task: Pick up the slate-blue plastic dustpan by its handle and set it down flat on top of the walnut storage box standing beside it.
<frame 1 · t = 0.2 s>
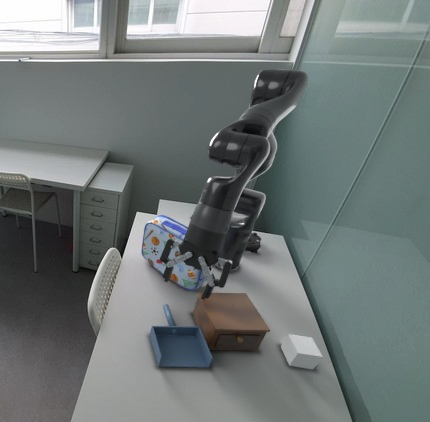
hand: (184, 289, 71), 30 cm above the table, tool tilted 20°, fingers open, 8 cm apart
dustpan: (178, 351, 90), on the table
storage box: (222, 331, 95), on the table
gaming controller: (245, 245, 131), on the table
lunch box: (172, 272, 118), on the table
white cube: (296, 358, 88), on the table
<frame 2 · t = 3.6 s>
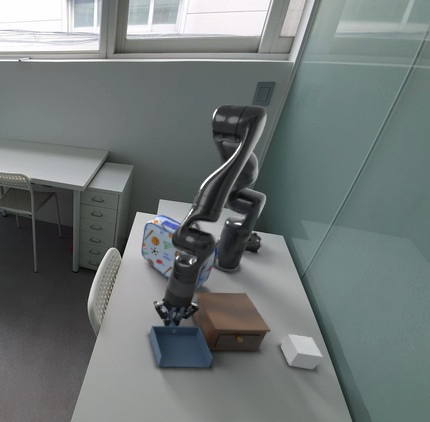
hand: (170, 325, 97), 1 cm above the table, tool pointing down, fingers closed on dustpan, 2 cm apart
dustpan: (178, 351, 90), on the table, touching gripper
everything else where it was.
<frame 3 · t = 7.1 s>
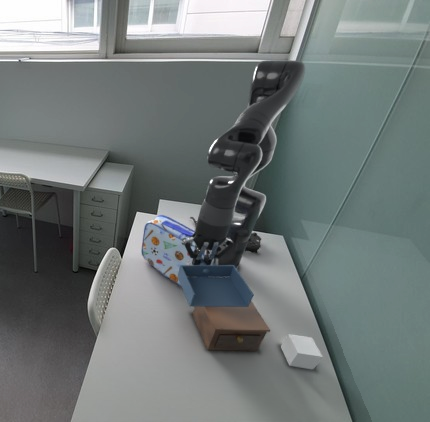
hand: (199, 267, 87), 24 cm above the table, tool pointing down, fingers closed on dustpan
dustpan: (211, 291, 80), point 23 cm above the table, touching gripper
everything else where it was.
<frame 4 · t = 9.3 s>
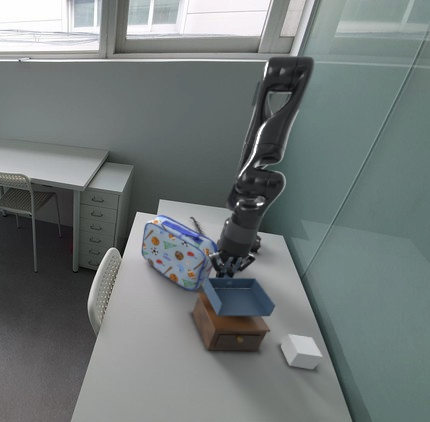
hand: (223, 279, 95), 14 cm above the table, tool pointing down, fingers closed on dustpan
dustpan: (235, 302, 88), point 14 cm above the table, touching gripper
everything else where it was.
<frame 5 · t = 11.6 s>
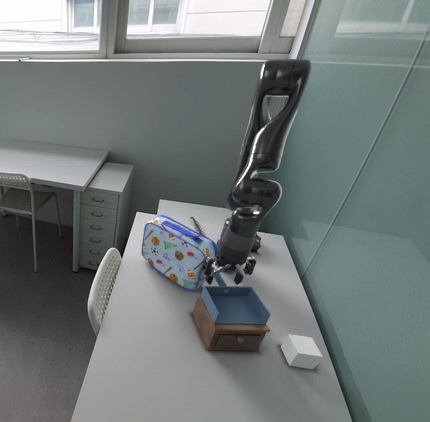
hand: (222, 282, 96), 13 cm above the table, tool pointing down, fingers open, 8 cm apart
dustpan: (231, 310, 90), point 10 cm above the table, touching storage box
everything else where it was.
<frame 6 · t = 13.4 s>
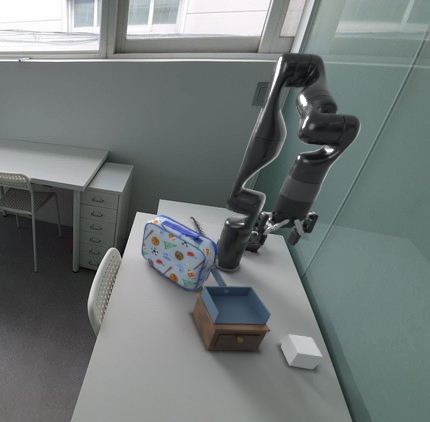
hand: (275, 243, 86), 29 cm above the table, tool pointing down, fingers open, 8 cm apart
nothing on the table moved.
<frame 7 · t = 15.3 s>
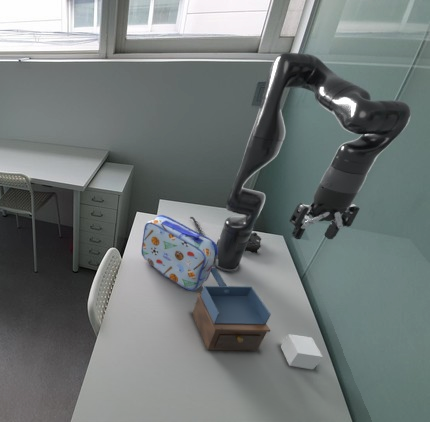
hand: (311, 237, 83), 32 cm above the table, tool pointing down, fingers open, 8 cm apart
nothing on the table moved.
at the end: dustpan inside the target area on the storage box (0.0 cm from its centre), point 10.0 cm above the storage box's base; dustpan tilted 0°; the gripper is holding nothing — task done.
